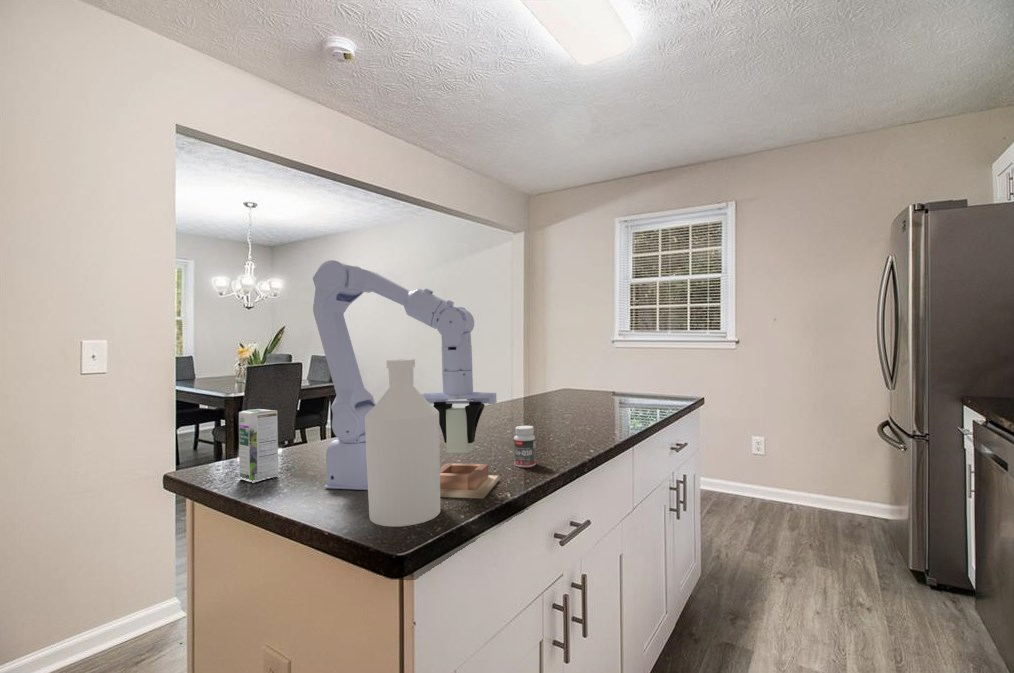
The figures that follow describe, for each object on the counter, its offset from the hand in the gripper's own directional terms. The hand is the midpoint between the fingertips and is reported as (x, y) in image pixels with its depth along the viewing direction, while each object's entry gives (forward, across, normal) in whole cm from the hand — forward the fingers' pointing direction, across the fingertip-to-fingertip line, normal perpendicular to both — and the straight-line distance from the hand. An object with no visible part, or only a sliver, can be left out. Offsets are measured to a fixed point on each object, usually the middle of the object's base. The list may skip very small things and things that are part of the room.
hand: (459, 441), depth 93 cm
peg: (+2, 0, 0) cm, 2 cm away
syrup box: (+9, -45, +1) cm, 46 cm away
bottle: (+9, -5, -14) cm, 18 cm away
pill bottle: (+9, +9, +18) cm, 22 cm away
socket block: (+9, 0, 0) cm, 9 cm away
